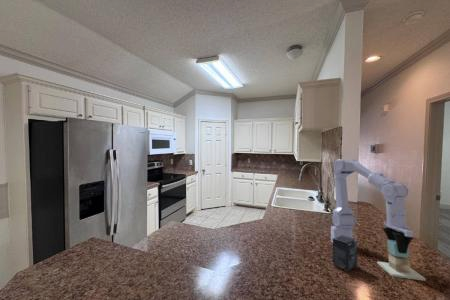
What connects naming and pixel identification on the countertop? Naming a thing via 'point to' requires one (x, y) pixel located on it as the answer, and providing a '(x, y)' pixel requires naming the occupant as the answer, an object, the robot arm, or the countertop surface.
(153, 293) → the countertop surface
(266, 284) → the countertop surface
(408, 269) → the brick base
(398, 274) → the baseplate
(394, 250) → the brick top
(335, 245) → the box
